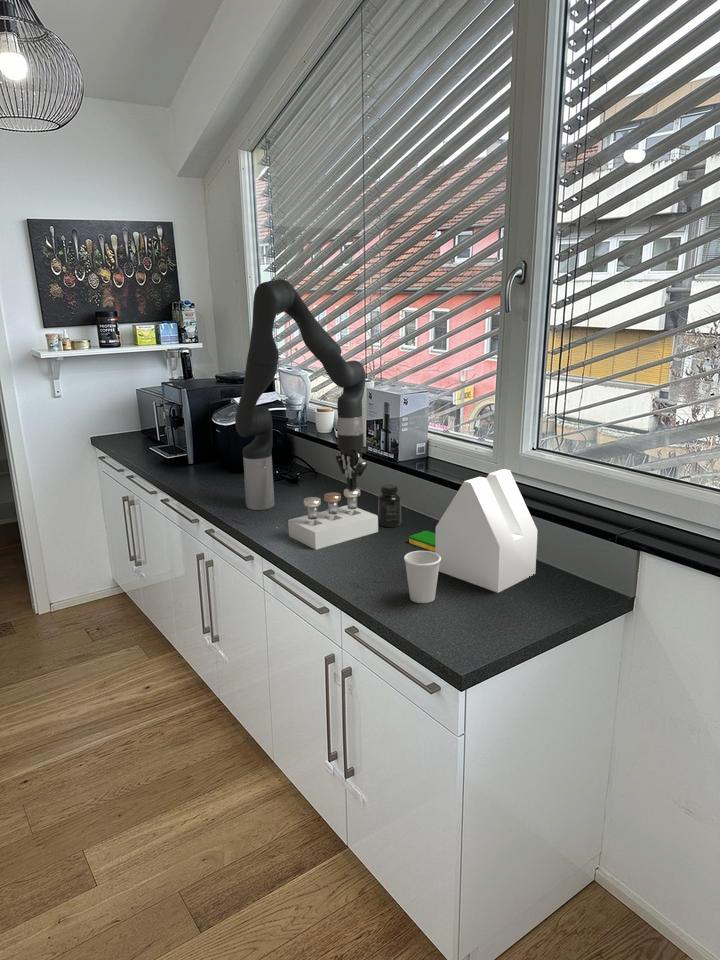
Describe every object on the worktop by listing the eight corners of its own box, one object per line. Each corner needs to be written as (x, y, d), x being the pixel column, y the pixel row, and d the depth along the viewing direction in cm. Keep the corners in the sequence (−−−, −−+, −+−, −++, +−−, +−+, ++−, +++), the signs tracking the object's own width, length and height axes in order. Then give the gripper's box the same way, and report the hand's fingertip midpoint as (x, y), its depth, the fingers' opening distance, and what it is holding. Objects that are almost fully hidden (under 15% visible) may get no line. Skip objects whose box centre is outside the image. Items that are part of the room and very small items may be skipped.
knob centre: (321, 512, 196) (320, 494, 194) (335, 509, 198) (334, 491, 197) (331, 516, 192) (330, 498, 190) (344, 513, 195) (344, 494, 193)
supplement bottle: (404, 522, 206) (404, 484, 203) (396, 529, 200) (395, 490, 197) (383, 519, 209) (383, 482, 205) (374, 526, 203) (374, 488, 199)
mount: (289, 536, 196) (288, 519, 195) (349, 520, 209) (349, 504, 207) (315, 549, 185) (315, 532, 184) (378, 531, 198) (377, 515, 197)
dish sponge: (445, 557, 179) (445, 548, 178) (408, 544, 189) (408, 536, 188) (463, 550, 184) (463, 542, 183) (425, 537, 194) (425, 529, 193)
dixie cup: (419, 586, 160) (419, 547, 158) (447, 597, 155) (448, 556, 152) (396, 598, 155) (396, 557, 152) (425, 609, 149) (425, 567, 146)
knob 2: (341, 507, 200) (340, 489, 198) (354, 504, 202) (353, 487, 201) (350, 511, 196) (350, 493, 195) (363, 508, 199) (363, 490, 197)
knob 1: (301, 517, 192) (300, 499, 190) (315, 514, 194) (314, 496, 193) (310, 521, 188) (309, 503, 186) (324, 518, 191) (324, 499, 189)
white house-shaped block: (435, 570, 170) (436, 474, 163) (473, 553, 180) (475, 463, 174) (497, 593, 157) (501, 490, 150) (535, 574, 167) (540, 476, 160)
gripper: (326, 430, 196) (328, 487, 201) (353, 437, 186) (355, 497, 190) (347, 426, 200) (348, 482, 205) (374, 433, 190) (375, 492, 195)
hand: (351, 489), depth 198 cm, fingers closed
